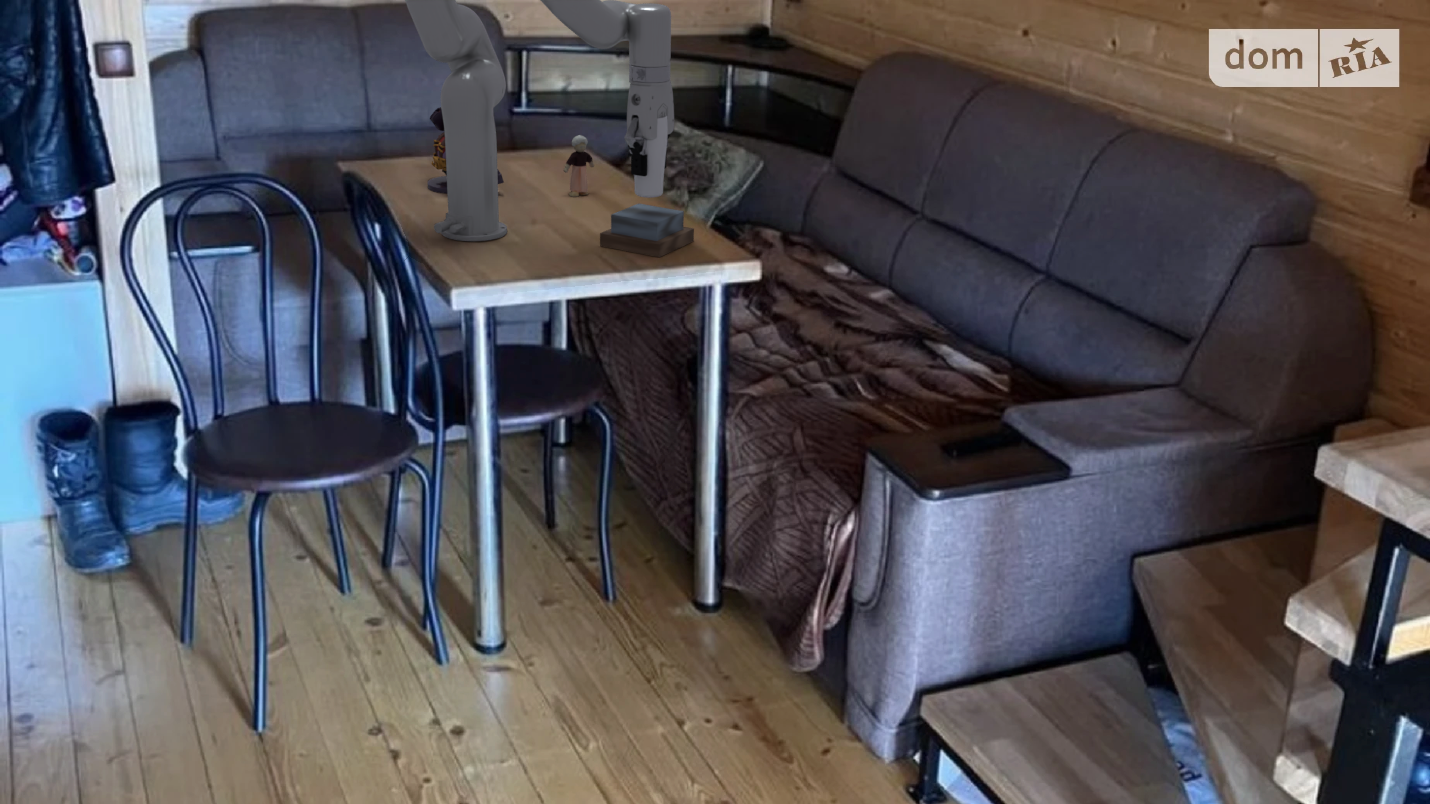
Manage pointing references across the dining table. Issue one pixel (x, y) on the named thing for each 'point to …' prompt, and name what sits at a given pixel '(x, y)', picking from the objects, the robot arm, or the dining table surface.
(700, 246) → the dining table surface
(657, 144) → the drinking glass
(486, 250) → the dining table surface
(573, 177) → the grandmother figurine
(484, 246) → the dining table surface
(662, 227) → the stone block on base
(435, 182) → the figurine
